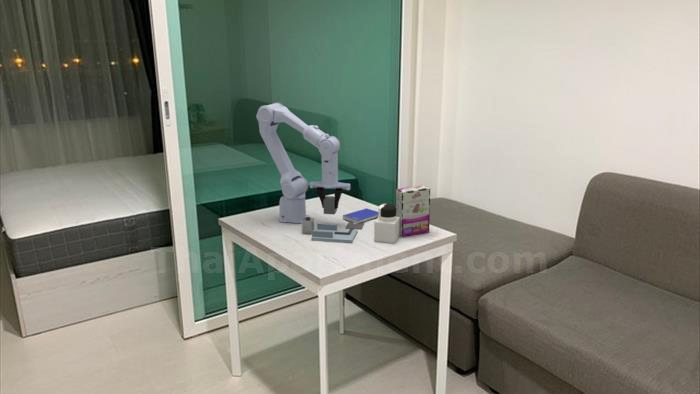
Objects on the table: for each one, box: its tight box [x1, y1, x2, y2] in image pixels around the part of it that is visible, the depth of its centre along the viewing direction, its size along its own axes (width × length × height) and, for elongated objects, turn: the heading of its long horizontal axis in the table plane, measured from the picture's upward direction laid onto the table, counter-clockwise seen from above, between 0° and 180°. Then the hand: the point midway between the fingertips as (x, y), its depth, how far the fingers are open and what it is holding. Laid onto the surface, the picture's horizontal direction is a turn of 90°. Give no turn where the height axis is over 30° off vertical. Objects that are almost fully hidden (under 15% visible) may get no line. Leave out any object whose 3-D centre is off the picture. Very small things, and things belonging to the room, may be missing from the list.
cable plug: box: [301, 216, 316, 236], centre depth 186 cm, size 4×4×6 cm
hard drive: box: [342, 208, 378, 223], centre depth 201 cm, size 2×8×12 cm
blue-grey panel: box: [310, 222, 358, 244], centre depth 184 cm, size 14×12×3 cm
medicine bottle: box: [373, 203, 400, 244], centre depth 179 cm, size 7×7×12 cm
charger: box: [323, 195, 338, 215], centre depth 192 cm, size 4×4×6 cm
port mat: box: [344, 221, 365, 231], centre depth 193 cm, size 6×6×1 cm
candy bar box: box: [395, 184, 431, 238], centre depth 183 cm, size 11×5×16 cm, turn 114°
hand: (330, 207), depth 192 cm, fingers closed on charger, 4 cm apart
